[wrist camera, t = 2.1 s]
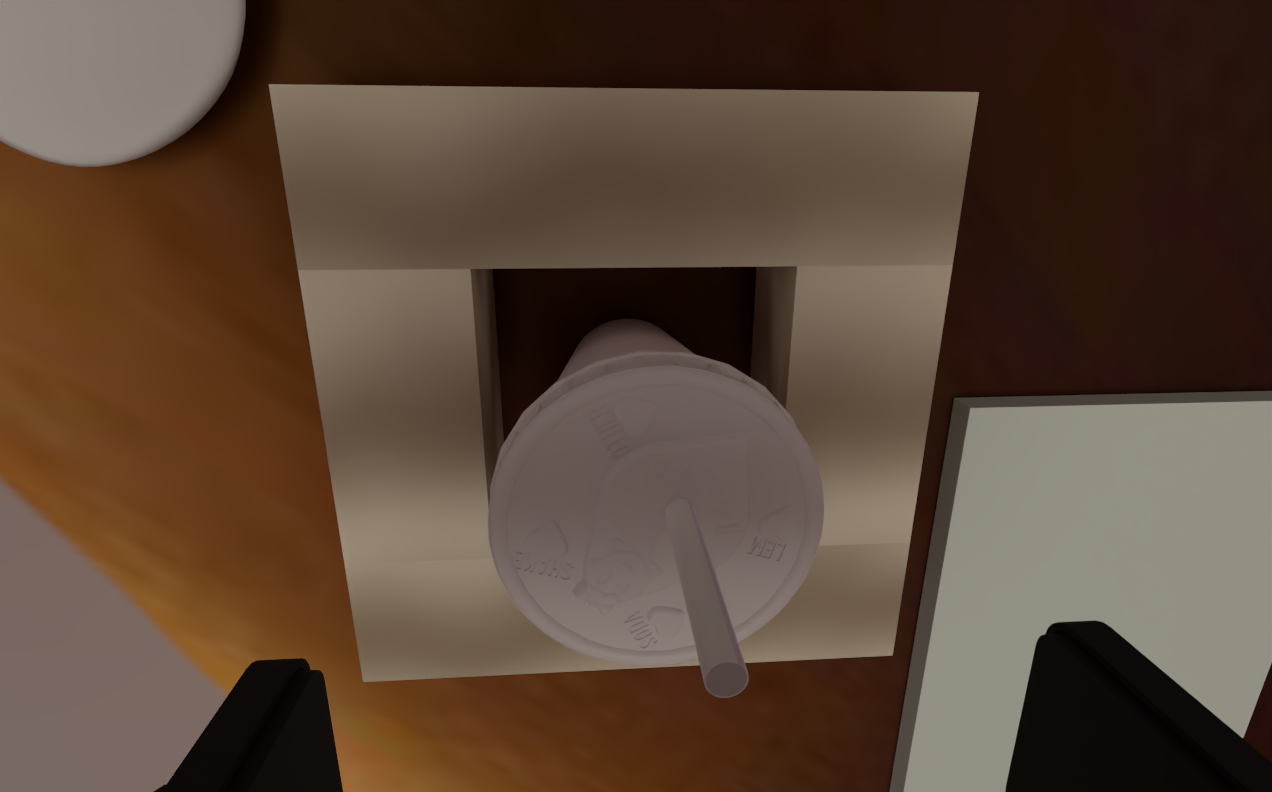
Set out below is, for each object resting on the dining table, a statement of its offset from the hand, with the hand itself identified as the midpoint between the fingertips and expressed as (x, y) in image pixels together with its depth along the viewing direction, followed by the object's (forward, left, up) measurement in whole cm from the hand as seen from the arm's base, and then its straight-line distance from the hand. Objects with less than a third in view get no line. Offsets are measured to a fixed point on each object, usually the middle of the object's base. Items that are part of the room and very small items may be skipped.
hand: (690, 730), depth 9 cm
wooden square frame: (-1, 0, -14) cm, 14 cm away
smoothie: (-1, 0, -14) cm, 14 cm away
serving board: (+9, +18, -14) cm, 24 cm away
